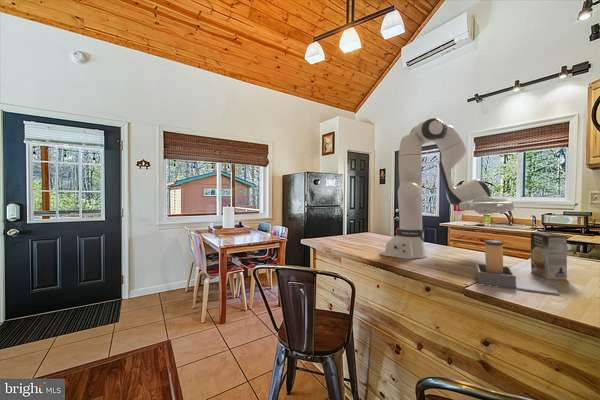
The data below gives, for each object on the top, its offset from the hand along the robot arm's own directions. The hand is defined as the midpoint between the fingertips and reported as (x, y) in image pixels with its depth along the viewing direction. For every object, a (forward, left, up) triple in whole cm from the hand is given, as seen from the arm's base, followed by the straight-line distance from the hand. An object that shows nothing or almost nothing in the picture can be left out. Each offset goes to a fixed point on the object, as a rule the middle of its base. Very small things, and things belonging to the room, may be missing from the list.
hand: (486, 206), depth 110 cm
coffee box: (+18, -7, -26) cm, 33 cm away
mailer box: (+5, -24, -26) cm, 36 cm away
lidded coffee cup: (0, -24, -25) cm, 35 cm away
